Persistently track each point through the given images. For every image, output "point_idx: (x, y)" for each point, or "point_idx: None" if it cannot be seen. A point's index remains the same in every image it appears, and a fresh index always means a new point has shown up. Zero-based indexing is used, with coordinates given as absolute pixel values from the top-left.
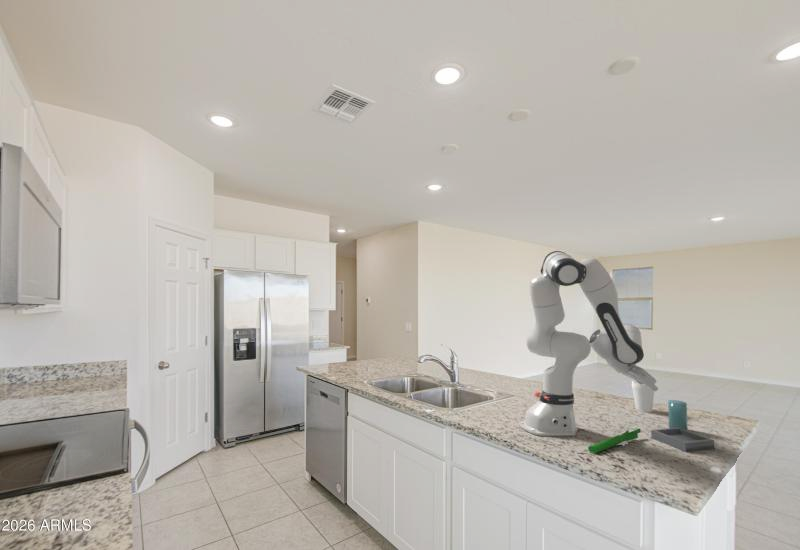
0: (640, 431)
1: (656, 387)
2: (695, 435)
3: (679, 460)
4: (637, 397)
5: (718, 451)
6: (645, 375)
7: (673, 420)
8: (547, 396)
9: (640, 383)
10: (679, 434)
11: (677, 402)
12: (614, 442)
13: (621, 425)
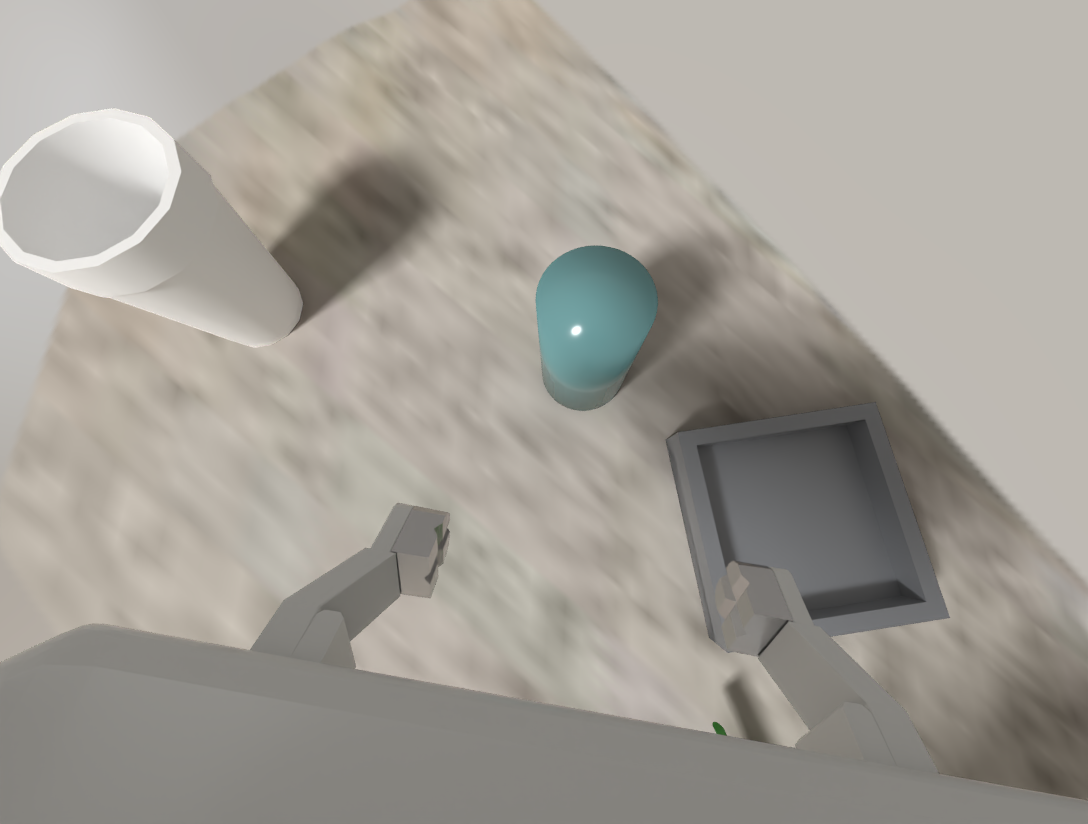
0: (722, 727)
1: (795, 597)
2: (789, 431)
3: (1036, 748)
4: (199, 317)
5: None
6: (745, 771)
7: (602, 392)
8: None
9: (441, 560)
10: (706, 462)
11: (607, 306)
12: None
13: (495, 670)
